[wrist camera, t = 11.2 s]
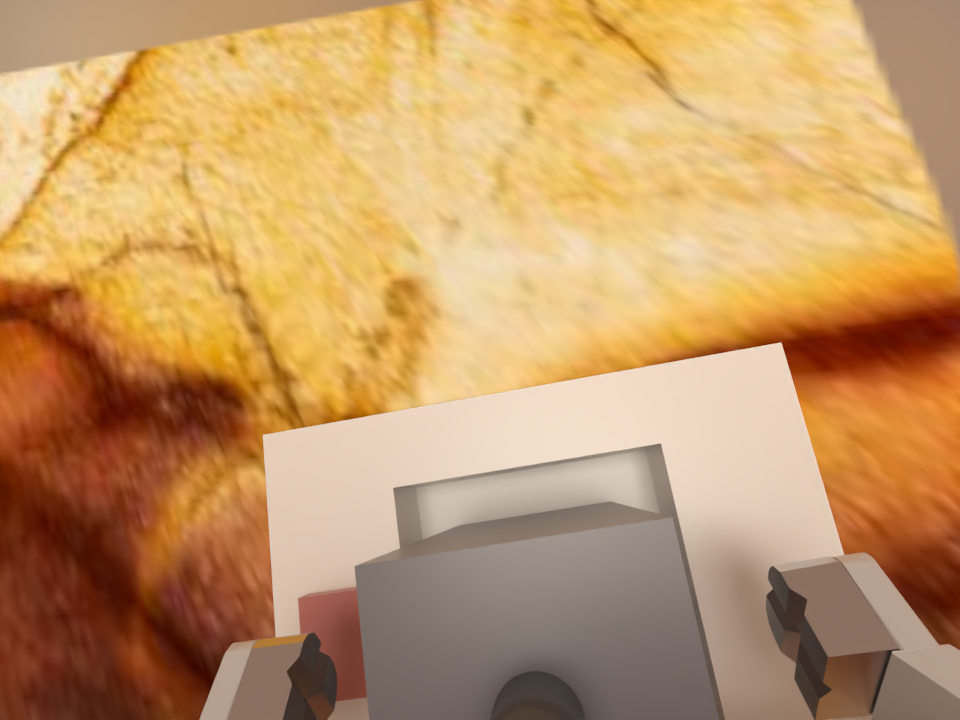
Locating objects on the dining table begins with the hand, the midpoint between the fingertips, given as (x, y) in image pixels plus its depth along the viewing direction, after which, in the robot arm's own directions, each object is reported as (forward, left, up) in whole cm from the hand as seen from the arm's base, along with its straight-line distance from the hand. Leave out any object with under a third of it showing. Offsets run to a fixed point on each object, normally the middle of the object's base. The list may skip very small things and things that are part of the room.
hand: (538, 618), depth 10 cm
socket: (0, -1, -7) cm, 7 cm away
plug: (0, -1, -6) cm, 6 cm away
